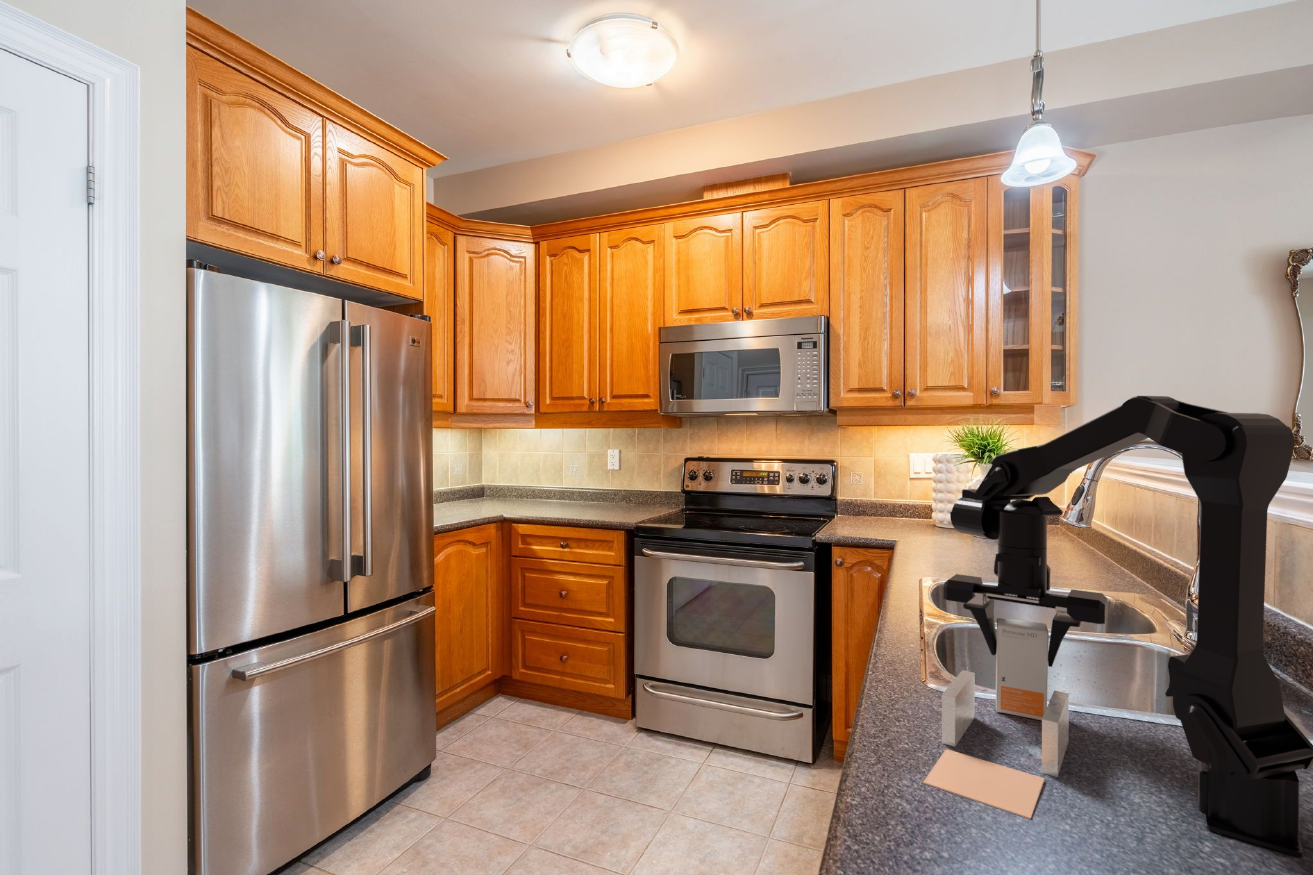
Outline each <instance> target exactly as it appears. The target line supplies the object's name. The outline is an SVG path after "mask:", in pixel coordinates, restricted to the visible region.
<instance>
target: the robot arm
mask: <svg viewBox="0 0 1313 875" xmlns="http://www.w3.org/2000/svg"><path fill="white" fill-rule="evenodd" d="M1294 435H1295V434H1294V433H1293V430H1292V428H1291V427H1290V426H1288V425H1286V424H1285V423H1284V422H1283V421H1282V420H1280V419H1279V418H1278V417H1274V416H1273V415H1270V414H1267V413H1260V412H1259V413H1258V412H1254V413H1253V412H1228V411H1223V410H1217V409H1215V408H1209V407H1205V406H1200V405H1197V404H1191V403H1187V402H1185V401H1181V400H1177V399H1175V398H1173V397H1171V396H1168V395H1167V396H1163V395H1161V396H1160V395H1159V396H1158V395H1137V396H1133V397H1131V398H1129V399H1127V400H1126V401H1124V402H1123V403H1122V405H1120V406H1117V407H1115V408H1113V409H1112V410H1110V411H1107V412H1106V413H1103V414H1101V415H1100V416H1098V417H1096V418H1094V419H1092V420H1090V421H1087V422H1086V423H1083V424H1082V425H1080V426H1078V427H1075V428H1073V429H1072V430H1070V431H1068V432H1066V433H1064V434H1062V435H1060V436H1058V437H1056V438H1054V439H1052V440H1050V441H1048V442H1046V443H1042V444H1039V445H1033V446H1029V447H1022V448H1018V449H1014V450H1010V451H1007V452H1003V453H999V454H998V455H996V456H995V457H993V459H992V461H991V467H990V468H989V469H988V471H987V473H986V475H985V476H984V478H983V479H982V481H981V482H980V483H979V486H978V488H977V489H976V488H975V489H974V488H971V489H969V488H967V489H962V490H961V496H962V497H960V498H959V499H957V500H956V501H955V503H953V506H952V510H950V514H949V515H950V516H949V517H950V522H951V525H952V527H953V528H954V530H956V531H957V532H958V533H961V534H965V535H970V536H975V537H979V538H984V539H988V540H997V553H995V558H994V562H993V563H994V565H993V573H994V575H995V576H996V577H997V585H990V584H984V582H983V579H982V577H980V576H973V575H972V576H971V575H966V574H965V575H964V574H958V573H956V574H954V575H952V577H950V578H948V579H947V580H946V581H945V582H944V584H943V600H945V601H949V602H950V601H951V602H956V603H957V602H958V603H963V604H962V608H963V609H964V610H968V611H970V612H971V615H972V616H973V618H974V619H975V621H976V623H977V625H978V626H979V628H980V631H981V633H982V635H983V637H984V640H985V642H986V645H987V647H988V649H989V652H990V654H991V656H996V647H997V630H996V622H995V613H994V612H995V601H1003V602H1009V603H1015V604H1021V605H1027V606H1028V605H1029V606H1035V607H1042V608H1048V609H1053V610H1054V609H1055V615H1054V616H1053V618H1052V621H1051V628H1050V635H1049V642H1048V668H1049V667H1050V668H1053V665H1054V662H1055V660H1056V657H1057V654H1058V652H1059V650H1060V647H1061V644H1062V642H1063V640H1064V639H1065V636H1066V634H1067V633H1068V631H1069V629H1070V628H1071V627H1074V628H1079V627H1081V625H1082V623H1083V622H1084V623H1089V624H1090V623H1091V624H1096V625H1105V624H1106V621H1107V617H1108V615H1109V614H1108V613H1109V612H1108V608H1109V607H1108V606H1109V605H1108V603H1109V602H1108V598H1107V597H1106V595H1104V594H1103V593H1102V592H1093V591H1088V590H1079V589H1071V590H1070V591H1069V593H1068V594H1067V595H1063V594H1056V593H1049V591H1051V570H1052V569H1051V567H1050V566H1049V565H1048V563H1047V562H1048V559H1047V558H1048V555H1047V554H1048V550H1047V549H1048V548H1047V547H1048V543H1047V542H1048V517H1049V516H1052V517H1053V516H1062V515H1063V510H1062V509H1061V508H1060V507H1059V506H1058V505H1056V503H1054V502H1053V501H1052V500H1051V498H1050V497H1049V496H1044V495H1046V494H1047V495H1048V494H1049V493H1050V492H1052V491H1053V490H1055V489H1057V488H1058V487H1059V486H1061V485H1062V484H1064V483H1066V482H1067V479H1068V478H1069V476H1070V475H1071V474H1072V473H1073V472H1074V471H1076V470H1078V469H1080V468H1082V467H1085V466H1087V465H1089V464H1092V463H1094V462H1096V461H1098V460H1101V459H1103V458H1105V457H1108V456H1110V455H1113V454H1114V453H1117V452H1119V451H1122V450H1123V449H1124V450H1125V449H1126V448H1128V447H1130V446H1131V447H1132V446H1133V445H1135V444H1137V443H1140V442H1142V441H1145V440H1147V439H1150V440H1151V441H1152V442H1154V443H1156V444H1157V445H1158V446H1161V447H1163V448H1167V449H1169V450H1172V451H1175V452H1177V453H1180V454H1181V461H1182V464H1183V465H1182V468H1183V472H1184V476H1185V477H1186V479H1187V481H1188V483H1189V484H1190V487H1191V488H1192V490H1193V491H1194V493H1195V495H1196V496H1197V498H1198V500H1199V503H1200V517H1199V520H1200V522H1199V524H1200V525H1199V551H1198V552H1199V553H1198V580H1197V581H1198V585H1197V587H1198V588H1197V590H1198V591H1197V615H1196V616H1197V618H1196V642H1195V645H1194V647H1193V648H1192V650H1191V651H1190V653H1188V654H1180V655H1179V654H1178V655H1174V656H1169V659H1168V662H1167V663H1168V664H1167V668H1168V669H1167V670H1168V675H1169V683H1168V687H1167V689H1166V691H1165V693H1164V695H1165V696H1166V697H1167V698H1169V697H1172V698H1171V704H1172V705H1171V706H1172V711H1173V713H1174V716H1175V718H1176V719H1177V720H1179V721H1180V722H1181V726H1182V729H1183V732H1184V735H1185V737H1186V738H1185V739H1186V741H1187V744H1188V747H1189V750H1190V753H1191V755H1192V757H1193V758H1194V759H1195V760H1197V761H1199V762H1198V768H1197V769H1198V770H1197V771H1198V777H1197V778H1198V779H1197V781H1198V782H1197V783H1198V784H1197V785H1198V786H1197V789H1198V790H1197V792H1198V793H1197V802H1198V811H1199V812H1200V813H1201V814H1202V815H1204V817H1205V819H1204V820H1205V825H1206V828H1207V830H1209V831H1212V832H1214V833H1217V834H1221V835H1225V836H1226V837H1227V836H1228V837H1231V838H1234V839H1238V840H1240V841H1245V842H1248V843H1251V844H1255V845H1257V846H1261V847H1265V848H1268V849H1271V850H1274V851H1278V852H1281V853H1284V854H1288V855H1291V856H1293V857H1295V856H1296V857H1299V858H1303V857H1304V849H1303V847H1302V843H1301V840H1300V779H1299V776H1298V774H1297V772H1296V771H1299V770H1310V769H1311V768H1312V766H1313V743H1312V742H1311V741H1310V740H1309V739H1308V738H1307V736H1306V735H1305V734H1304V733H1303V732H1302V731H1301V730H1300V728H1299V727H1298V726H1297V725H1296V724H1295V723H1294V722H1293V721H1292V720H1291V718H1290V717H1289V716H1288V715H1287V714H1286V712H1285V709H1284V702H1283V698H1282V697H1283V696H1282V691H1281V685H1280V682H1279V679H1278V678H1277V676H1276V674H1275V672H1274V671H1273V669H1272V668H1271V665H1270V664H1269V663H1268V661H1267V659H1266V658H1265V655H1264V649H1263V647H1264V646H1263V645H1264V623H1265V622H1264V621H1265V620H1264V619H1265V588H1266V566H1267V565H1266V563H1267V562H1266V560H1267V534H1268V533H1267V531H1268V530H1267V528H1268V510H1269V507H1270V506H1269V505H1270V504H1271V502H1272V501H1273V499H1274V497H1275V496H1276V494H1277V493H1278V491H1279V490H1280V488H1281V487H1282V485H1283V483H1284V482H1285V481H1286V479H1287V477H1288V473H1289V470H1290V466H1291V462H1292V458H1293V454H1294V451H1295V450H1294V449H1295V445H1296V444H1295V443H1296V440H1295V436H1294ZM1042 495H1043V496H1042ZM1033 497H1034V498H1033ZM1032 498H1033V499H1032ZM1030 499H1032V500H1030ZM1047 591H1048V592H1047Z"/></svg>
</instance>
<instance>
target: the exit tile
mask: <svg viewBox="0 0 1313 875" xmlns="http://www.w3.org/2000/svg"><path fill="white" fill-rule="evenodd" d="M922 782H923V783H922V784H924V785H926V786H930V787H933V788H936V789H938V790H942V791H945V792H948V793H951V794H954V795H956V796H960V797H963V798H965V799H968V800H970V801H974V802H977V803H980V804H983V805H986V806H990V807H992V808H996V809H999V810H1000V811H1004V812H1007V813H1010V814H1014V815H1016V816H1019V817H1023V818H1025V819H1028V820H1032V817H1033V815H1034V811H1035V808H1036V805H1037V804H1038V799H1039V797H1040V796H1041V791H1042V790H1043V786H1044V783H1045V778H1044V777H1042V776H1038V775H1035V774H1032V773H1027V772H1024V771H1021V770H1018V769H1015V768H1011V767H1008V766H1004V765H1001V764H998V763H994V762H991V761H988V760H984V759H980V758H977V757H975V756H971V755H969V754H968V755H967V754H965V753H960V752H958V751H957V752H956V751H954V750H951V749H949V748H946V749H945V750H944V751H943V753H942V754H941V756H940V757H939V759H938V760H937V761H936V763H935V764H934V766H933V767H932V768H931V770H930V771H929V773H928V775H927V776H926V778H925V779H924V780H923V781H922Z"/></svg>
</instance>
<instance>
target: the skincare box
mask: <svg viewBox="0 0 1313 875" xmlns="http://www.w3.org/2000/svg"><path fill="white" fill-rule="evenodd" d="M1049 638H1050V635H1049V630H1048V625H1047V624H1046V623H1045V622H1044V623H1043V622H1034V621H1029V620H1020V619H1009V618H1003V617H997V618H996V641H997V647H996V655H995V656H996V658H995V659H996V660H995V711H996V712H997V713H1000V714H1001V713H1003V714H1007V715H1012V716H1018V717H1022V718H1023V717H1024V718H1029V719H1033V720H1039V721H1041V722H1042V718H1043V716H1044V713H1045V711H1046V709H1047V706H1048V678H1049V677H1048V674H1049V672H1048V670H1049V669H1048V668H1049V666H1048V651H1049Z"/></svg>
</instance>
